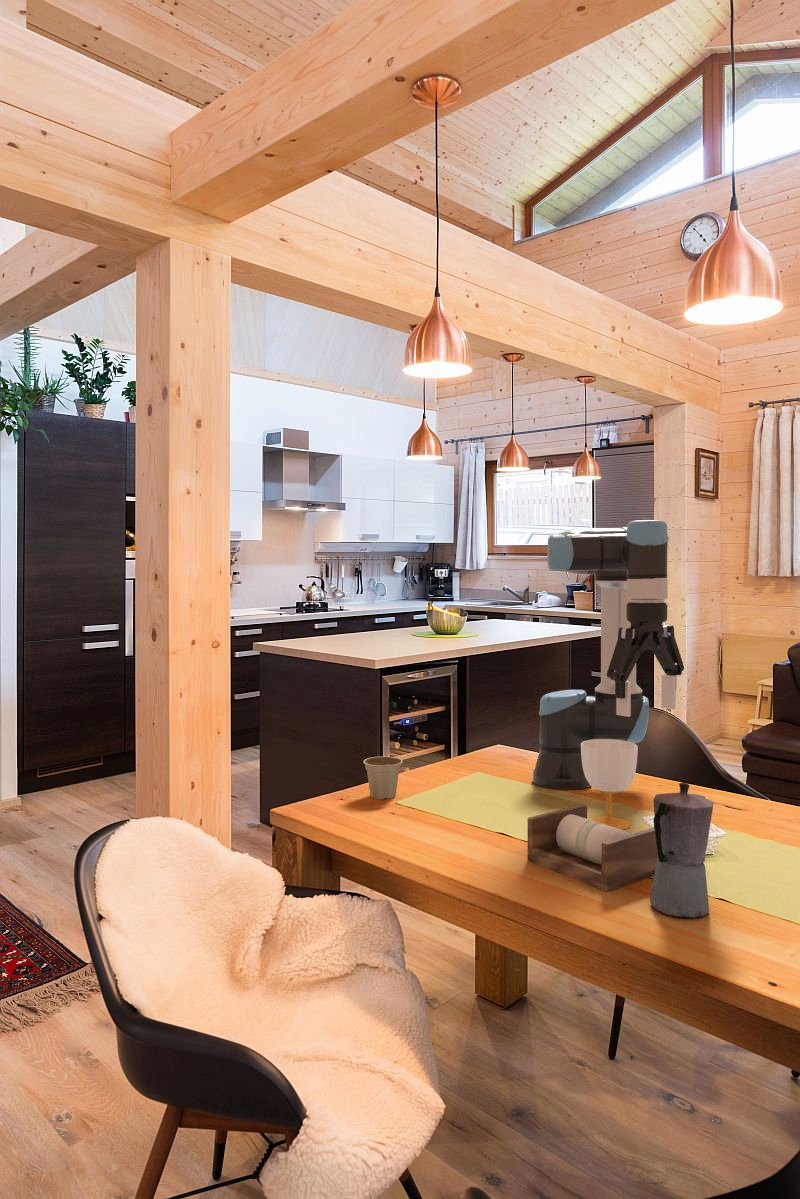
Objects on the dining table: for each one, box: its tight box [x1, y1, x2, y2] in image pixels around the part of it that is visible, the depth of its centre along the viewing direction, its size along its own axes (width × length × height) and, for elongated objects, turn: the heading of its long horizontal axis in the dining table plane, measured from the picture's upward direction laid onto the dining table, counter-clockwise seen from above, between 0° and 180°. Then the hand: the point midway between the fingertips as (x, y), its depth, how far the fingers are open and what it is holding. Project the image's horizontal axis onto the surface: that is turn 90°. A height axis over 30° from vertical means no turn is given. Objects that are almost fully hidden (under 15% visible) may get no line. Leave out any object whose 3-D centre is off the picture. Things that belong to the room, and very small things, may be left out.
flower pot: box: [363, 756, 403, 800], centre depth 197 cm, size 9×9×9 cm
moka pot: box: [649, 782, 714, 918], centre depth 129 cm, size 10×15×20 cm, turn 138°
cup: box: [581, 739, 639, 831], centre depth 174 cm, size 12×12×17 cm
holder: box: [527, 803, 658, 892], centre depth 149 cm, size 19×15×8 cm
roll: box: [556, 814, 631, 865], centre depth 149 cm, size 12×7×7 cm, turn 35°
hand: (646, 712), depth 157 cm, fingers open, 13 cm apart
